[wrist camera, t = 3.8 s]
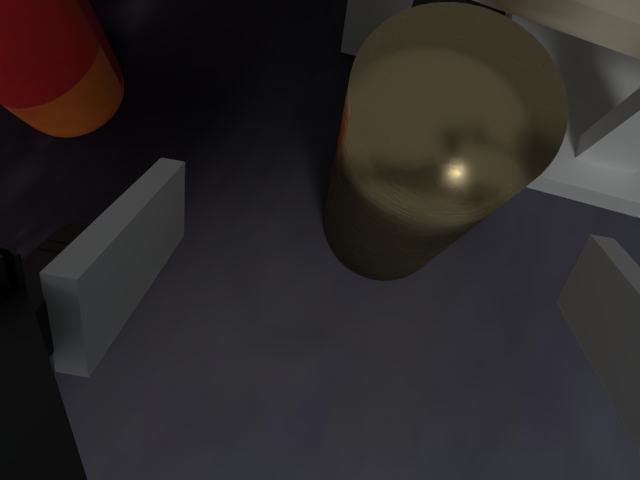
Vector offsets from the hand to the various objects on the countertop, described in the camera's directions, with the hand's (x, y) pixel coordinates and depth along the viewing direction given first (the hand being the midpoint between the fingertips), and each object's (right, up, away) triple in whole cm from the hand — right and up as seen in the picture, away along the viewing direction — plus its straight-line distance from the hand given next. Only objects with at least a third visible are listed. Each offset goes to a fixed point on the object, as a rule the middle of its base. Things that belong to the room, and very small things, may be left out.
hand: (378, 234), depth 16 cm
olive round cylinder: (+1, +1, +9) cm, 9 cm away
